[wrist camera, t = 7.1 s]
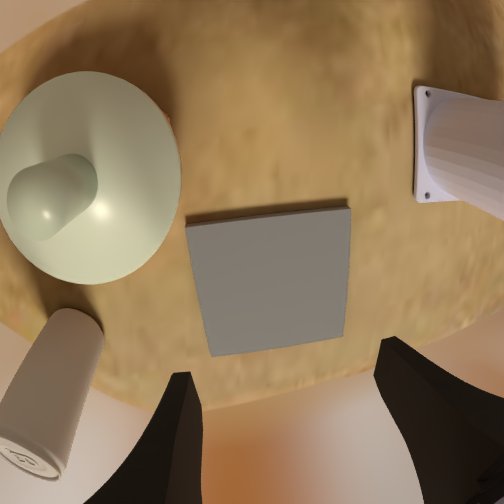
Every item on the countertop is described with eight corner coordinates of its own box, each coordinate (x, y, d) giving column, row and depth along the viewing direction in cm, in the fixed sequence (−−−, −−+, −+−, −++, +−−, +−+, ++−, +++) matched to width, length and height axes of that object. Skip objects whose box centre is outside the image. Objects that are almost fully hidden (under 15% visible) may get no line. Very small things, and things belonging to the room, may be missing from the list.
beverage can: (43, 304, 19) (-31, 425, 8) (95, 302, 20) (32, 444, 9) (64, 353, 21) (16, 472, 10) (114, 353, 22) (78, 489, 11)
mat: (347, 205, 19) (351, 208, 18) (340, 331, 23) (343, 336, 22) (186, 224, 18) (185, 227, 18) (211, 351, 22) (211, 356, 22)
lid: (166, 48, 11) (146, 20, 7) (199, 262, 15) (195, 311, 11) (-12, 114, 10) (-64, 121, 7) (32, 286, 15) (-2, 329, 11)
